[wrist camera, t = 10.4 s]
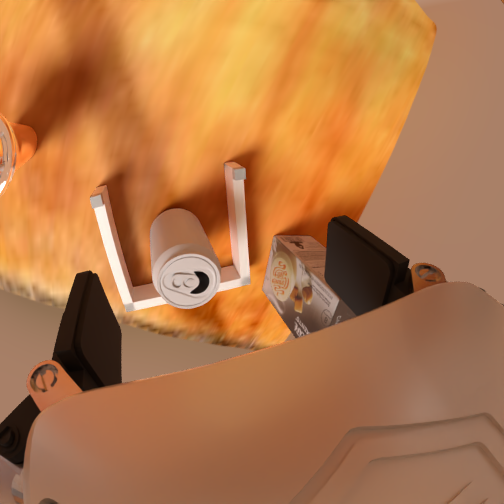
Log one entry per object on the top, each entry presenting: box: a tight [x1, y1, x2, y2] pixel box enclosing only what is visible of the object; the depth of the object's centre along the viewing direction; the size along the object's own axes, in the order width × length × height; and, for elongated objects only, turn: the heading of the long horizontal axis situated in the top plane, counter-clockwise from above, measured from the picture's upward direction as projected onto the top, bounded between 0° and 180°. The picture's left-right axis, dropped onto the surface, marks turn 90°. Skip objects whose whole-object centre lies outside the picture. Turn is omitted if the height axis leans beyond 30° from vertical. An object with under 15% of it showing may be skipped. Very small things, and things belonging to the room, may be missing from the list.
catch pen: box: [90, 162, 250, 312], centre depth 33 cm, size 16×15×4 cm
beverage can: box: [150, 208, 221, 309], centre depth 29 cm, size 6×6×12 cm
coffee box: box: [262, 235, 357, 338], centre depth 36 cm, size 9×6×16 cm
